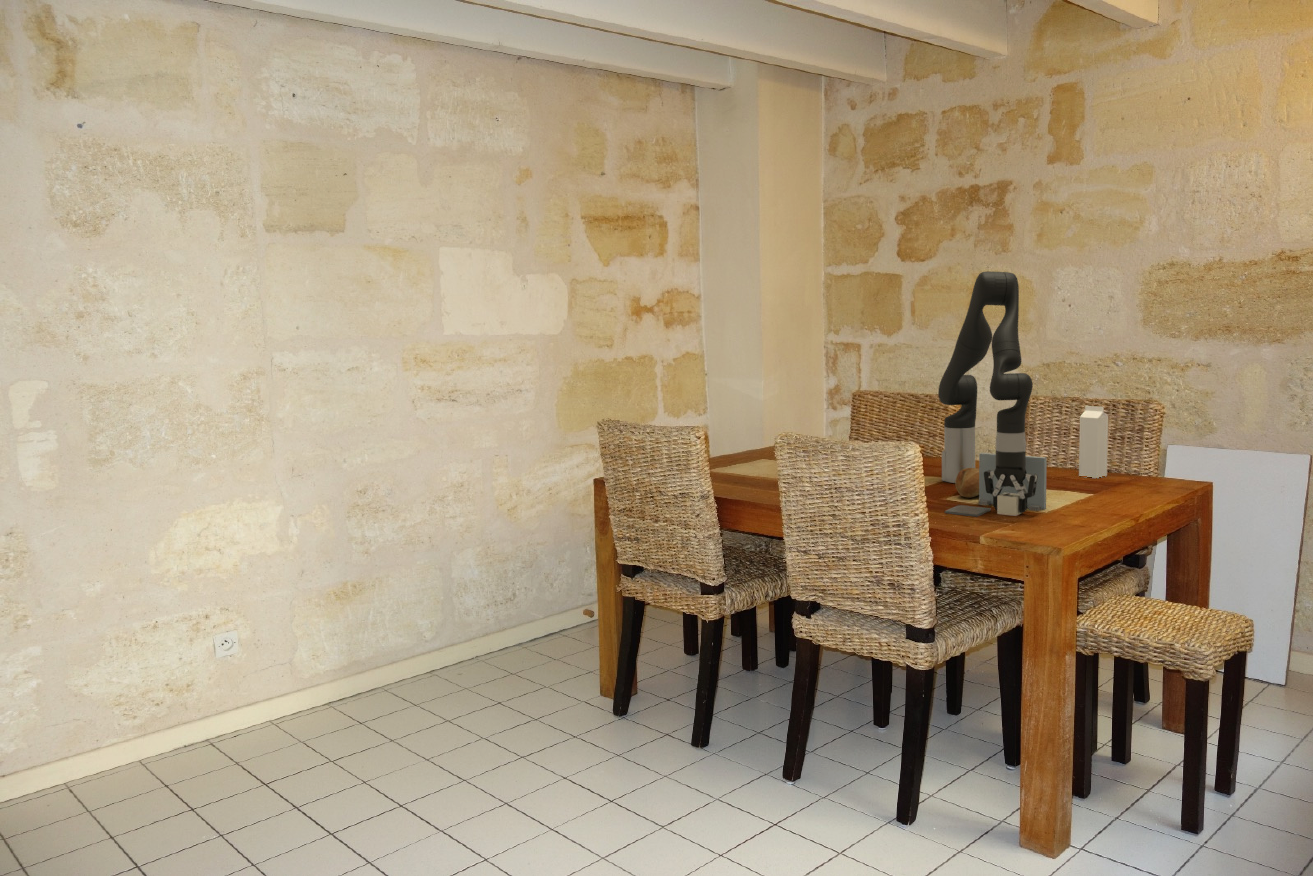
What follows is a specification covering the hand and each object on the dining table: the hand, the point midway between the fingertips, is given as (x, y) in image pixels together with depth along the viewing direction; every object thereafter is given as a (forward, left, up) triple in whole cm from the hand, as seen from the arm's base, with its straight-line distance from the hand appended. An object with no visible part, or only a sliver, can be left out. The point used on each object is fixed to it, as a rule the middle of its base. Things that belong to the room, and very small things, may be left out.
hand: (1010, 510), depth 265 cm
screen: (-3, +9, -1) cm, 10 cm away
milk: (+2, +62, -1) cm, 62 cm away
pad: (-10, -4, -1) cm, 11 cm away
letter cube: (0, 0, -1) cm, 1 cm away
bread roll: (-18, +18, -1) cm, 25 cm away
